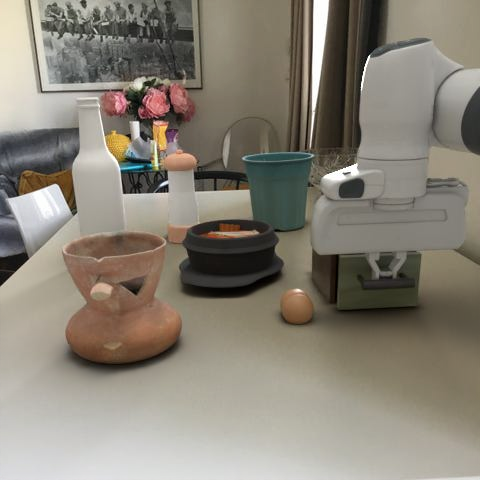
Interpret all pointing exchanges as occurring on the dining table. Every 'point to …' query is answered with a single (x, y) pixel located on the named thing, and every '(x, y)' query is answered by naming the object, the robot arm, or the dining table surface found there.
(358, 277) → the drawer
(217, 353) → the dining table surface
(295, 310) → the egg
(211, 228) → the casserole
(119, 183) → the alcohol
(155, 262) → the ceramic jug
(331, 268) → the cabinet
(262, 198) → the flower pot
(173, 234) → the salt shaker
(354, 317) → the dining table surface
